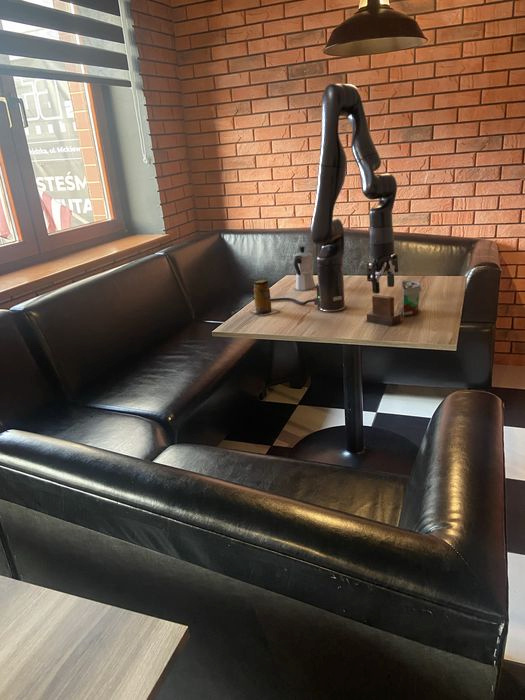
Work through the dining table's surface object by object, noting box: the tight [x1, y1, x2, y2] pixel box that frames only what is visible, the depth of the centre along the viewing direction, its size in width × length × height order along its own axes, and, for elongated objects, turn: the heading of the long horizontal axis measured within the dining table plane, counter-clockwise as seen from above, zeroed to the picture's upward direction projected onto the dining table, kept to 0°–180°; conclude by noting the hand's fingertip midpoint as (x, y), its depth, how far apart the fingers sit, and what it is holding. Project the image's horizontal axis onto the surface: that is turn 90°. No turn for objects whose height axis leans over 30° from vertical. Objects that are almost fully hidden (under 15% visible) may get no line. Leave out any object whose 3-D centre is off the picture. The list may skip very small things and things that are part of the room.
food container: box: [401, 280, 422, 318], centre depth 183 cm, size 12×6×10 cm, turn 168°
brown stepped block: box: [366, 294, 401, 327], centre depth 178 cm, size 10×5×9 cm, turn 44°
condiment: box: [250, 279, 279, 316], centre depth 202 cm, size 7×8×12 cm
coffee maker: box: [292, 245, 316, 291], centre depth 228 cm, size 15×9×18 cm, turn 154°
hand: (383, 289), depth 175 cm, fingers open, 8 cm apart
